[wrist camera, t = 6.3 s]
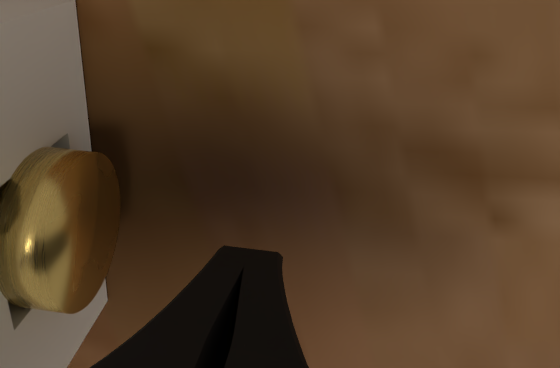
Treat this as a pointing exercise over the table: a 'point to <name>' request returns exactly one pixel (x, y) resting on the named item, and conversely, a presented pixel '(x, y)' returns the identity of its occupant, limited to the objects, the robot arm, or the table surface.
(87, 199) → the pin
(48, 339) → the block
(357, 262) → the table surface
